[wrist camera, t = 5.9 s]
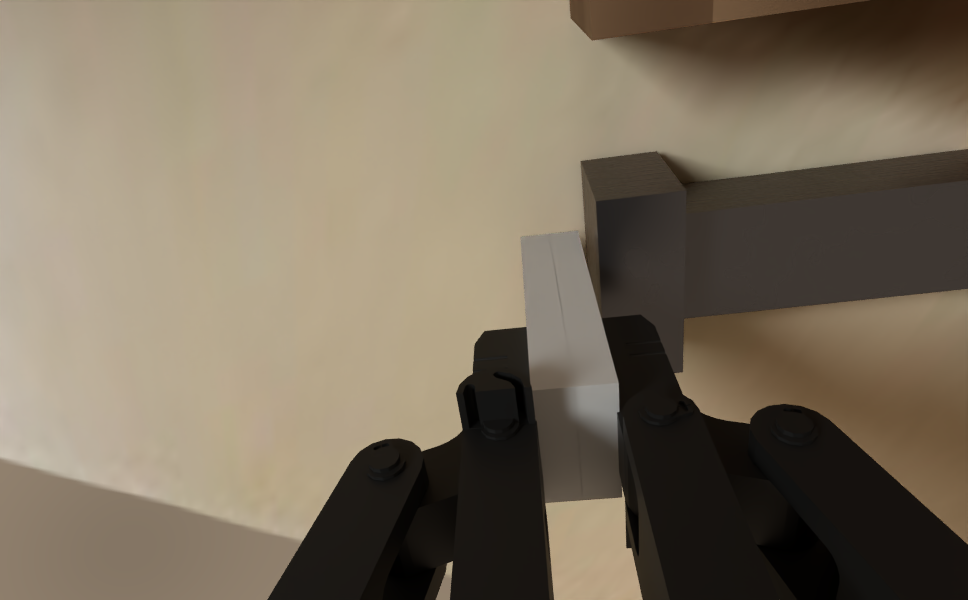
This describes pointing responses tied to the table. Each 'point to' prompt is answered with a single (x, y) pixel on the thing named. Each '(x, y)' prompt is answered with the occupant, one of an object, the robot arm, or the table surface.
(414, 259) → the table surface
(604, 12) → the rack
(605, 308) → the dark grey t-shaped block
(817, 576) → the robot arm
